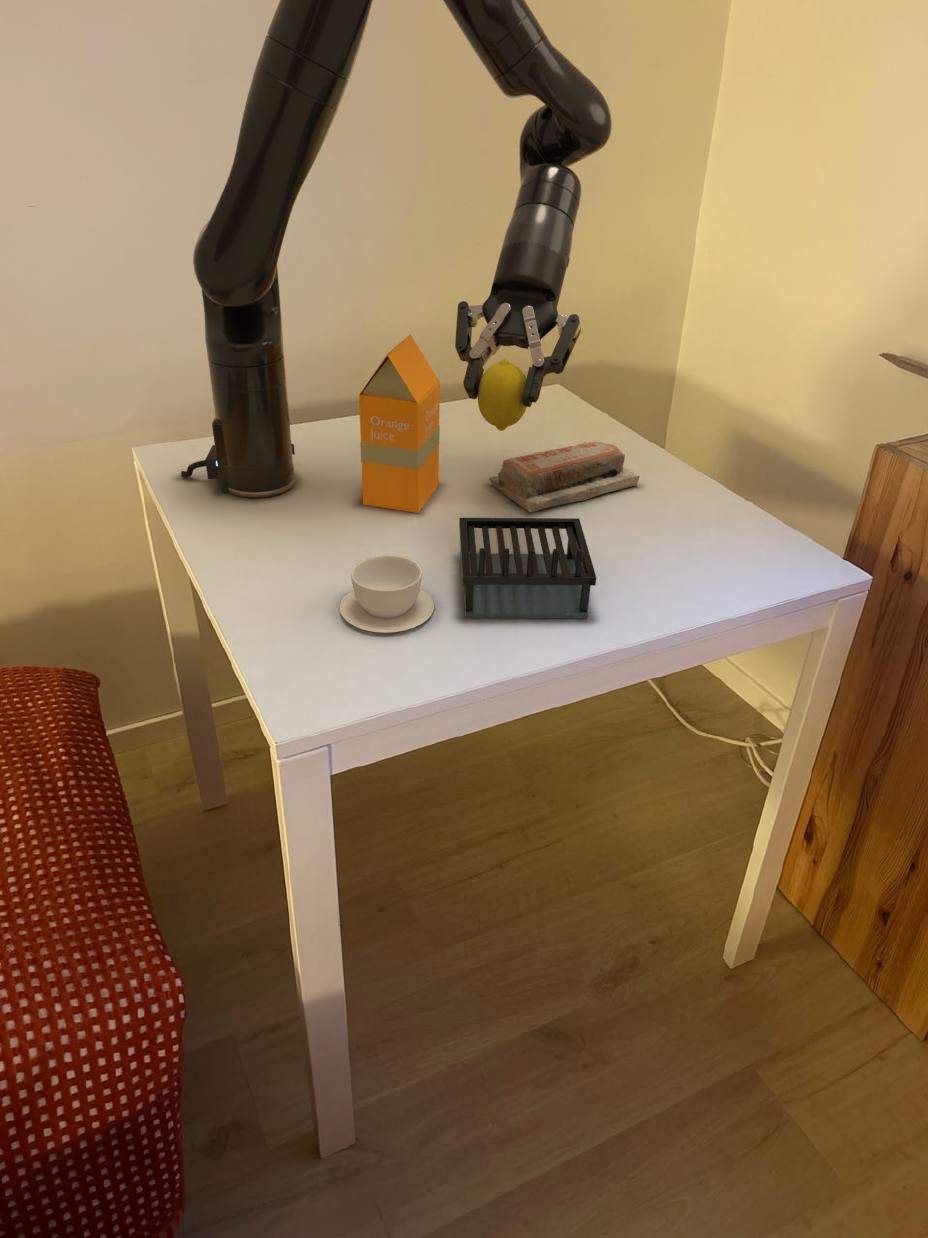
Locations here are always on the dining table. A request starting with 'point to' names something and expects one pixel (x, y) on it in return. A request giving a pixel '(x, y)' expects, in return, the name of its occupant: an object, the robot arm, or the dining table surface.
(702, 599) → the dining table surface
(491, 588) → the dish rack
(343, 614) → the teacup
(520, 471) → the packaged product
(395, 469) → the orange juice
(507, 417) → the lemon
